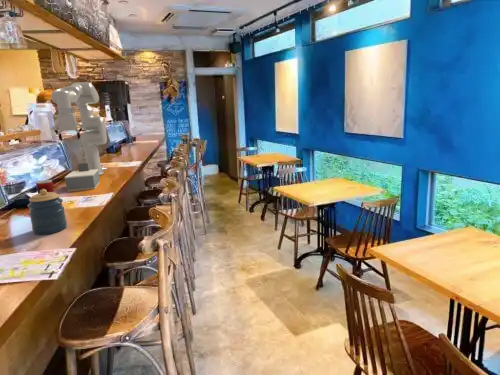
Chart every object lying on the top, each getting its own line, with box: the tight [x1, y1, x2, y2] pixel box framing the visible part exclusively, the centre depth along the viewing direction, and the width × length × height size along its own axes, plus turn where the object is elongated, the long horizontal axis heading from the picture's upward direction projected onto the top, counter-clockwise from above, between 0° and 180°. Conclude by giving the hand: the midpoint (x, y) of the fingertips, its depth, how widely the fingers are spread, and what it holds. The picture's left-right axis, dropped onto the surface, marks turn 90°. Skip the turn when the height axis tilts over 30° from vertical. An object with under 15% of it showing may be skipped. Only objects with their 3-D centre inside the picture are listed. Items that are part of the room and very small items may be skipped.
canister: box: [27, 189, 68, 236], centre depth 153 cm, size 13×13×18 cm
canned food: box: [35, 179, 55, 194], centre depth 205 cm, size 8×8×11 cm
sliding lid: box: [64, 162, 98, 179], centre depth 233 cm, size 20×16×6 cm
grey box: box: [64, 171, 101, 192], centre depth 235 cm, size 20×16×8 cm
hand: (70, 140), depth 227 cm, fingers open, 9 cm apart
